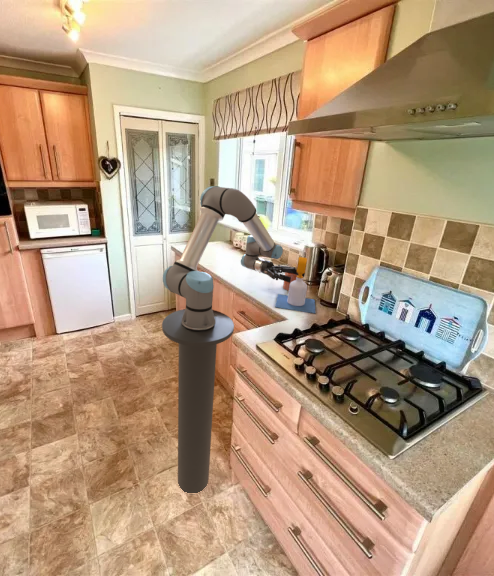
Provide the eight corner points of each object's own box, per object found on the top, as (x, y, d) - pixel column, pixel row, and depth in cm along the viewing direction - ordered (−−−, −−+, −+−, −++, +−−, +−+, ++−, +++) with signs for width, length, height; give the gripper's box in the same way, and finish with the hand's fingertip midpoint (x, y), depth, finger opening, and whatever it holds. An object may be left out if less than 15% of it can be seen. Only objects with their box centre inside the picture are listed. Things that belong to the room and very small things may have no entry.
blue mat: (275, 307, 155) (275, 306, 155) (278, 294, 172) (278, 294, 172) (315, 313, 151) (315, 313, 151) (314, 300, 168) (314, 299, 167)
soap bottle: (304, 300, 165) (311, 256, 156) (304, 307, 156) (312, 261, 147) (287, 298, 166) (294, 254, 157) (286, 305, 158) (293, 259, 149)
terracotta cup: (282, 289, 179) (284, 273, 176) (283, 285, 187) (285, 269, 183) (296, 291, 178) (299, 275, 174) (297, 286, 185) (299, 271, 182)
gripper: (276, 269, 180) (308, 279, 167) (249, 277, 163) (282, 289, 150) (278, 256, 177) (310, 266, 164) (251, 264, 160) (284, 275, 147)
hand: (297, 277), depth 157 cm, fingers open, 13 cm apart
